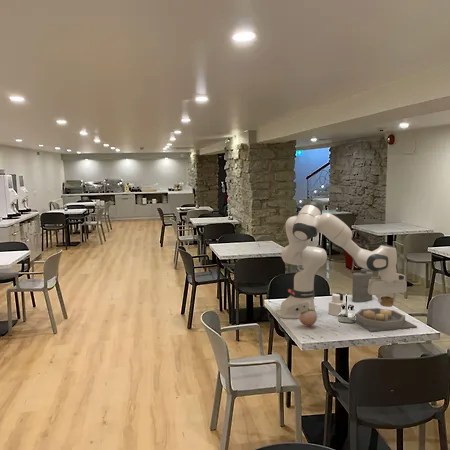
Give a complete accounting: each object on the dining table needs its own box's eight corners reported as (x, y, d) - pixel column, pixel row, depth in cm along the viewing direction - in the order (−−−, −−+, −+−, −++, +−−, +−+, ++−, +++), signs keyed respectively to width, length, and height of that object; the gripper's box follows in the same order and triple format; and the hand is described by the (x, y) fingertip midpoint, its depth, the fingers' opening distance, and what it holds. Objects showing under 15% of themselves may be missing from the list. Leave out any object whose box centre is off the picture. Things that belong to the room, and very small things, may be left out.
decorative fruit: (308, 330, 229) (308, 311, 228) (296, 326, 236) (296, 308, 235) (320, 327, 235) (320, 308, 234) (309, 323, 241) (309, 304, 240)
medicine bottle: (335, 311, 261) (335, 291, 259) (346, 314, 256) (346, 293, 254) (328, 314, 256) (328, 293, 254) (339, 317, 251) (339, 296, 249)
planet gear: (384, 307, 231) (384, 299, 230) (377, 303, 237) (378, 296, 236) (395, 306, 232) (395, 298, 231) (388, 303, 238) (388, 295, 237)
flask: (357, 303, 277) (358, 271, 275) (350, 301, 282) (351, 269, 280) (375, 299, 284) (375, 268, 282) (368, 297, 289) (368, 267, 287)
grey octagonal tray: (370, 332, 226) (370, 320, 226) (346, 316, 251) (346, 306, 251) (416, 328, 232) (417, 316, 231) (388, 313, 257) (388, 302, 256)
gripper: (372, 278, 227) (371, 305, 229) (408, 276, 231) (407, 302, 233) (365, 275, 234) (365, 301, 235) (401, 273, 238) (400, 299, 239)
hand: (386, 302), depth 234 cm, fingers closed on planet gear, 6 cm apart
